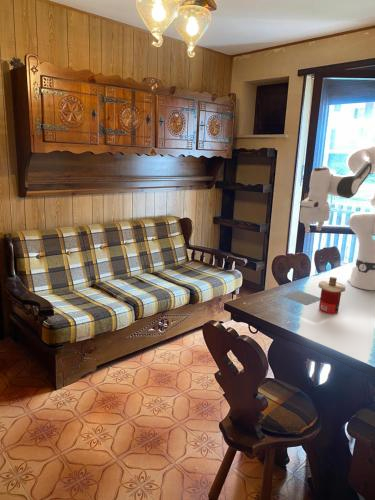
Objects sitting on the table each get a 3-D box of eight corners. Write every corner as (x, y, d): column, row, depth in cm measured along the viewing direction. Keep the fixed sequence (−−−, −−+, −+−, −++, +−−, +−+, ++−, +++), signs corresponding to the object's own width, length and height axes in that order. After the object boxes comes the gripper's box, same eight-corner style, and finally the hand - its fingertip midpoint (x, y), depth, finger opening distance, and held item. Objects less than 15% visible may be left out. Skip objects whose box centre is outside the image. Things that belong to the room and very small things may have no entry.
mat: (298, 290, 193) (298, 290, 193) (323, 299, 183) (323, 299, 183) (280, 296, 184) (280, 295, 184) (306, 306, 174) (306, 305, 174)
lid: (326, 281, 174) (328, 272, 173) (350, 289, 166) (351, 279, 165) (313, 286, 167) (314, 276, 166) (337, 294, 159) (338, 283, 158)
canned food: (339, 316, 165) (343, 291, 162) (319, 313, 166) (323, 289, 164) (336, 309, 172) (339, 286, 169) (317, 307, 174) (321, 283, 171)
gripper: (322, 200, 189) (319, 228, 193) (298, 202, 176) (295, 231, 180) (334, 202, 184) (330, 230, 188) (310, 204, 171) (306, 234, 175)
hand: (313, 231), depth 184 cm, fingers open, 8 cm apart
